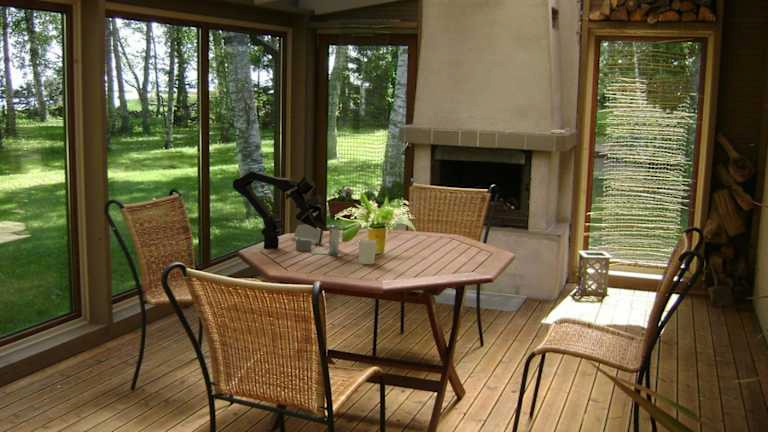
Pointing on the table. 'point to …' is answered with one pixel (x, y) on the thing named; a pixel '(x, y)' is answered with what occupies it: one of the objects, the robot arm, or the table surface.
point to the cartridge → (334, 240)
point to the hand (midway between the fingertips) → (320, 226)
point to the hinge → (308, 234)
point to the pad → (319, 252)
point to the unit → (303, 244)
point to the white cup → (367, 251)
